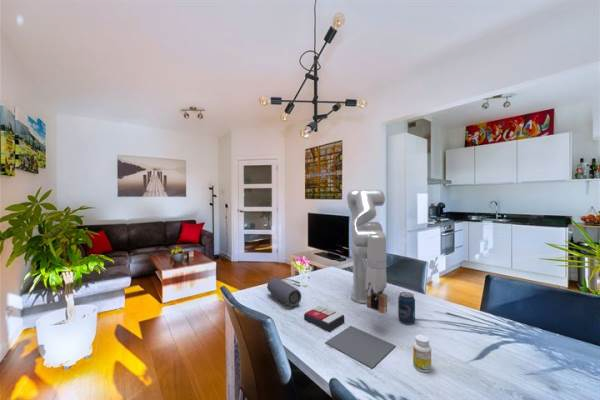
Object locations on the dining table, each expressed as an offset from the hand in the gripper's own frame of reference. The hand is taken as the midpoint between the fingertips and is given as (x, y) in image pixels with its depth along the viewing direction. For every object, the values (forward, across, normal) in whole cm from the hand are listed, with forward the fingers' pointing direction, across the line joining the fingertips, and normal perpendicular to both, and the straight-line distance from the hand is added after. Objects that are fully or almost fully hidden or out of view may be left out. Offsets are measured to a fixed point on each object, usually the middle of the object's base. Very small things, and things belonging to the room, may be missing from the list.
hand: (376, 306), depth 103 cm
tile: (+1, 0, 0) cm, 1 cm away
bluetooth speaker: (+11, +9, -50) cm, 52 cm away
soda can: (+11, -16, +6) cm, 20 cm away
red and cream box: (+11, +10, -20) cm, 25 cm away
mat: (+10, +14, +1) cm, 17 cm away
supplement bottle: (+10, +10, +22) cm, 26 cm away
